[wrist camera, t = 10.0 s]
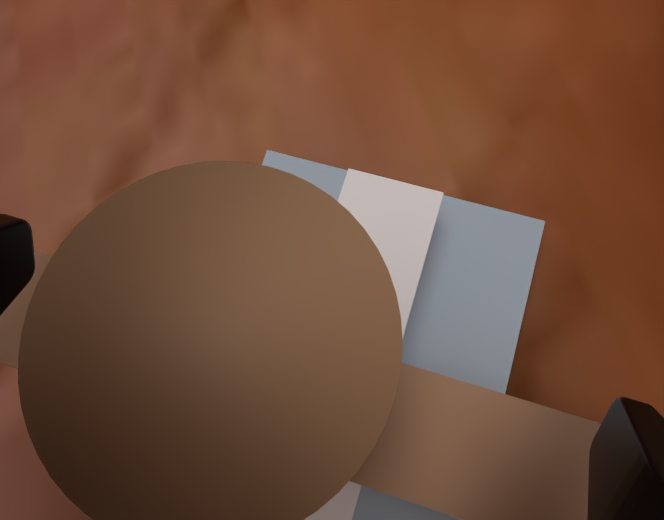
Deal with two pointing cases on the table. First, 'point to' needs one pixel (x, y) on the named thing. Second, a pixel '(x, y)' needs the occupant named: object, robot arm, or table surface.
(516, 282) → the stand
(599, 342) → the table surface
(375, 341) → the wooden bar with post
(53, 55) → the table surface
